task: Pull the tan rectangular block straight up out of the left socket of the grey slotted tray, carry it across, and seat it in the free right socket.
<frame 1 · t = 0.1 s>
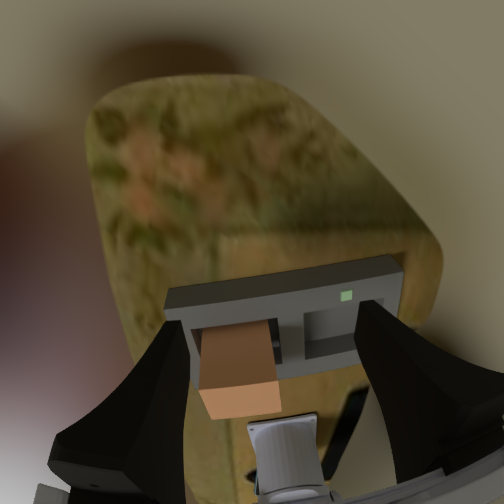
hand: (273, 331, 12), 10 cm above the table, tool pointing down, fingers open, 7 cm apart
grey slotted tray: (287, 319, 25), on the table
tan rectangular block: (238, 330, 25), resting on grey slotted tray
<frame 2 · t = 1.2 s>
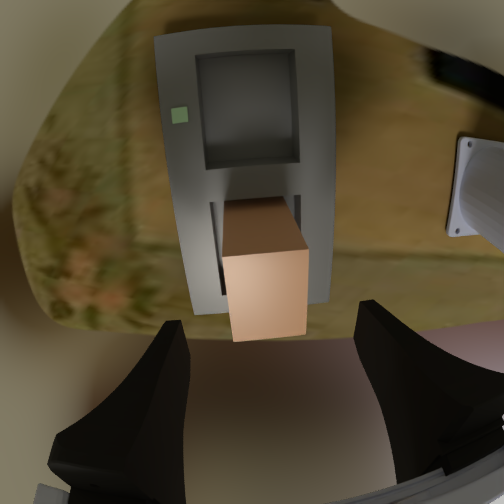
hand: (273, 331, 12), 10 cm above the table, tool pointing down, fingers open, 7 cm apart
grey slotted tray: (251, 171, 19), on the table
tan rectangular block: (255, 234, 20), resting on grey slotted tray
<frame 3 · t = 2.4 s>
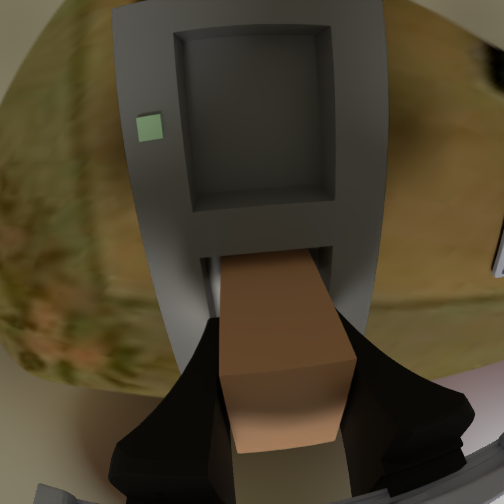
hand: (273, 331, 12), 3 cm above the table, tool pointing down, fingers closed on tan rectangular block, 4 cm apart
grey slotted tray: (259, 205, 13), on the table
tan rectangular block: (265, 289, 15), resting on grey slotted tray, touching gripper
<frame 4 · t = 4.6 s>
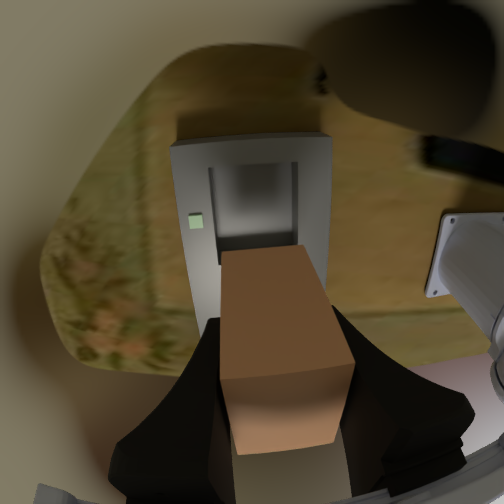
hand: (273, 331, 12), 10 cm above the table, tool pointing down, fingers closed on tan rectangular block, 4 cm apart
grey slotted tray: (255, 255, 23), on the table
tan rectangular block: (265, 292, 15), point 7 cm above the table, touching gripper
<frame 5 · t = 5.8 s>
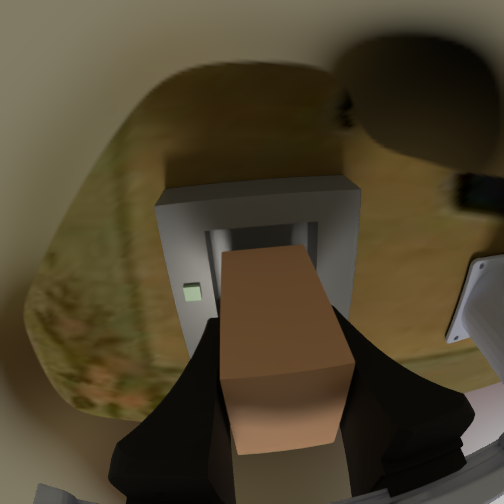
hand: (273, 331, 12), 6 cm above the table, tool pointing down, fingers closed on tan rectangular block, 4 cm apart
grey slotted tray: (263, 316, 19), on the table
tan rectangular block: (265, 292, 15), point 3 cm above the table, touching gripper
when the fingers open (4 cm above the table, at t = 6.7 s): tan rectangular block stays where it is, resting on grey slotted tray.
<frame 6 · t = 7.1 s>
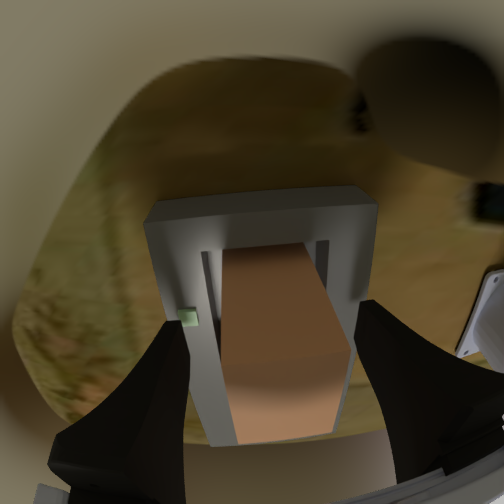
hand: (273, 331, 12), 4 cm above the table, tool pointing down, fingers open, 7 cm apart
grey slotted tray: (266, 336, 18), on the table
tan rectangular block: (264, 286, 15), resting on grey slotted tray
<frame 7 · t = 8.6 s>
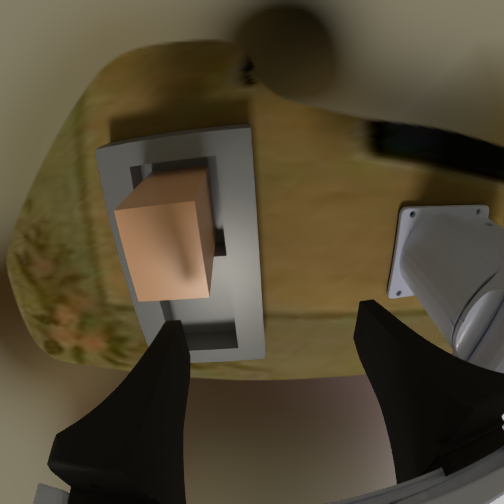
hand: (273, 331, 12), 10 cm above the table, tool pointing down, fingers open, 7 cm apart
grey slotted tray: (193, 252, 22), on the table
tan rectangular block: (184, 203, 20), resting on grey slotted tray
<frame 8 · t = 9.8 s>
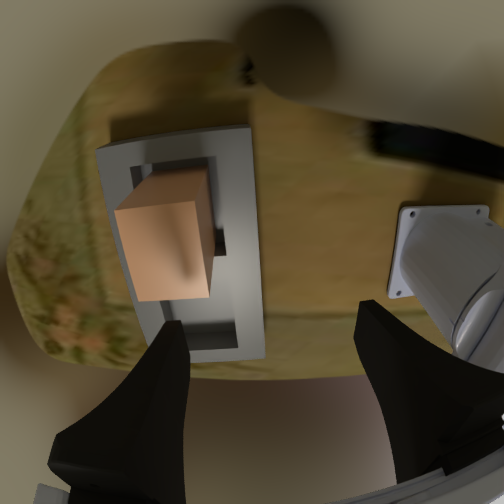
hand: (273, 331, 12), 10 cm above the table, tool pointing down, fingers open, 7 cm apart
grey slotted tray: (193, 252, 22), on the table
tan rectangular block: (184, 203, 20), resting on grey slotted tray
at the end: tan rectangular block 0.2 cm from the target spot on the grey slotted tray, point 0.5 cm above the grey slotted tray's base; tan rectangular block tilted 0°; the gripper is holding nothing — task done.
